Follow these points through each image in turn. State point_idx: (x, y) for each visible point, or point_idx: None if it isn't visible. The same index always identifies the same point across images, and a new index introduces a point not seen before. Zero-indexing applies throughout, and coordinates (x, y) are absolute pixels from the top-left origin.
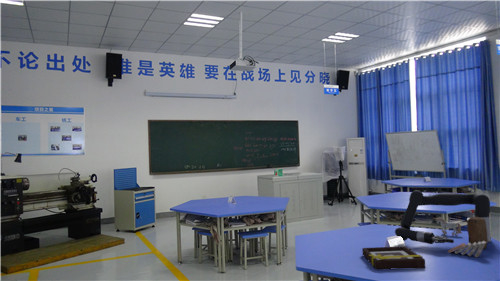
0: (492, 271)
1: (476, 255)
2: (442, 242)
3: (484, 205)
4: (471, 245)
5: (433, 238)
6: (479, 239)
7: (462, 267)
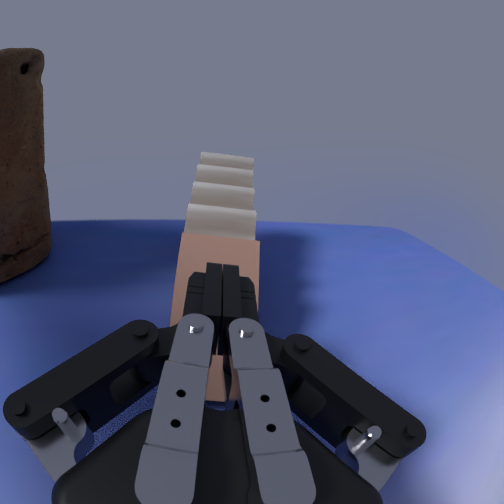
0: (370, 229)
1: None
2: (311, 387)
3: None
4: (253, 205)
5: (380, 498)
6: (47, 190)
7: (428, 284)
